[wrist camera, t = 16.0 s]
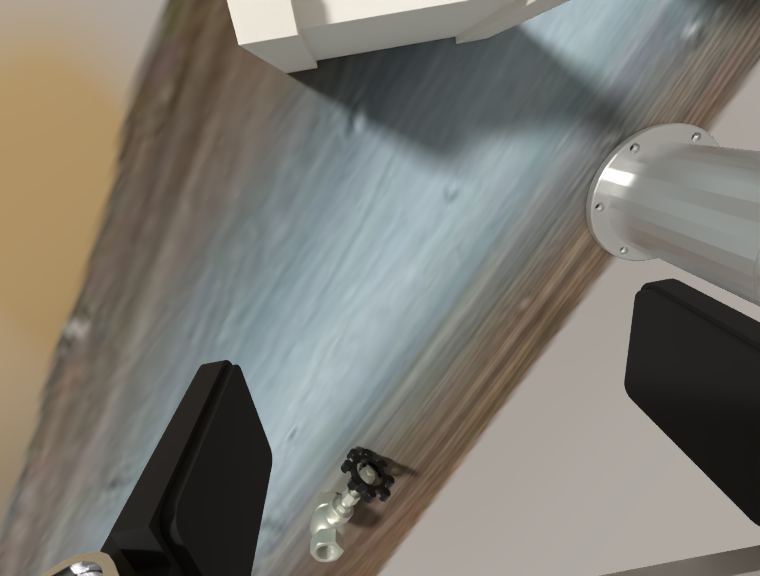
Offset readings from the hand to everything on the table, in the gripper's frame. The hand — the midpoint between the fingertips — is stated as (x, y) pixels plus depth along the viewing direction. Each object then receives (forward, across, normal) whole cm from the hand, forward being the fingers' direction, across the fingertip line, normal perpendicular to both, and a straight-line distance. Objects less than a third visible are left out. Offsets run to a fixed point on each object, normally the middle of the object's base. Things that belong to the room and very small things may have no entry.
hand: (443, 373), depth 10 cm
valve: (+29, +9, +36) cm, 47 cm away
